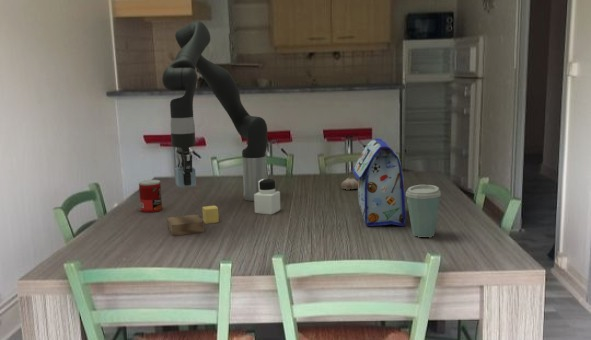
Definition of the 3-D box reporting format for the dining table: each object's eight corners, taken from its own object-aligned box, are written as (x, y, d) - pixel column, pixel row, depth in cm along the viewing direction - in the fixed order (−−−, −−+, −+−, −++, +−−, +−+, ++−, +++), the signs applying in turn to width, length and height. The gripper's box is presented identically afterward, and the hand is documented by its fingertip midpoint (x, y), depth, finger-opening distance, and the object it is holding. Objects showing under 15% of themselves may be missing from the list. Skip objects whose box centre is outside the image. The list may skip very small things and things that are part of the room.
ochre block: (215, 219, 199) (215, 205, 198) (218, 222, 194) (218, 208, 194) (203, 220, 197) (202, 206, 196) (205, 223, 193) (205, 209, 192)
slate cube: (192, 183, 186) (191, 166, 185) (196, 186, 181) (195, 169, 180) (175, 184, 184) (174, 167, 183) (178, 187, 179) (177, 170, 178)
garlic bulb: (362, 188, 243) (362, 170, 241) (354, 191, 237) (354, 173, 235) (346, 186, 247) (346, 168, 245) (338, 190, 241) (338, 171, 239)
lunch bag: (351, 210, 205) (351, 137, 201) (397, 209, 205) (398, 136, 200) (358, 228, 183) (357, 146, 178) (409, 227, 183) (410, 145, 178)
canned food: (157, 212, 209) (155, 183, 207) (137, 212, 211) (134, 183, 209) (165, 207, 217) (163, 179, 215) (146, 207, 218) (144, 179, 216)
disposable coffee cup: (433, 242, 166) (434, 192, 164) (399, 237, 172) (399, 189, 169) (445, 233, 175) (446, 185, 173) (411, 228, 181) (412, 182, 178)
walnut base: (197, 224, 192) (197, 214, 192) (203, 232, 183) (203, 221, 182) (167, 227, 189) (167, 217, 188) (172, 235, 179) (171, 225, 179)
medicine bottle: (280, 210, 209) (279, 178, 207) (271, 214, 202) (270, 182, 200) (263, 208, 212) (262, 177, 210) (254, 213, 205) (253, 180, 203)
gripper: (199, 132, 175) (202, 186, 177) (190, 128, 188) (192, 178, 191) (174, 134, 172) (178, 188, 175) (167, 130, 185) (170, 180, 188)
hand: (185, 183), depth 183 cm, fingers closed on slate cube, 5 cm apart
